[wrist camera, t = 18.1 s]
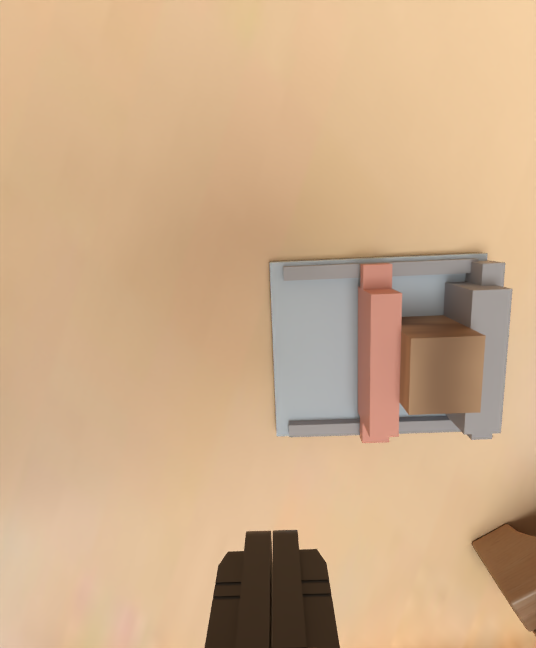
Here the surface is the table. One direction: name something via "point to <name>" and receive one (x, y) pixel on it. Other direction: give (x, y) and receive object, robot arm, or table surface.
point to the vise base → (342, 337)
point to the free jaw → (378, 353)
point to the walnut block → (440, 366)
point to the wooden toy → (512, 569)
